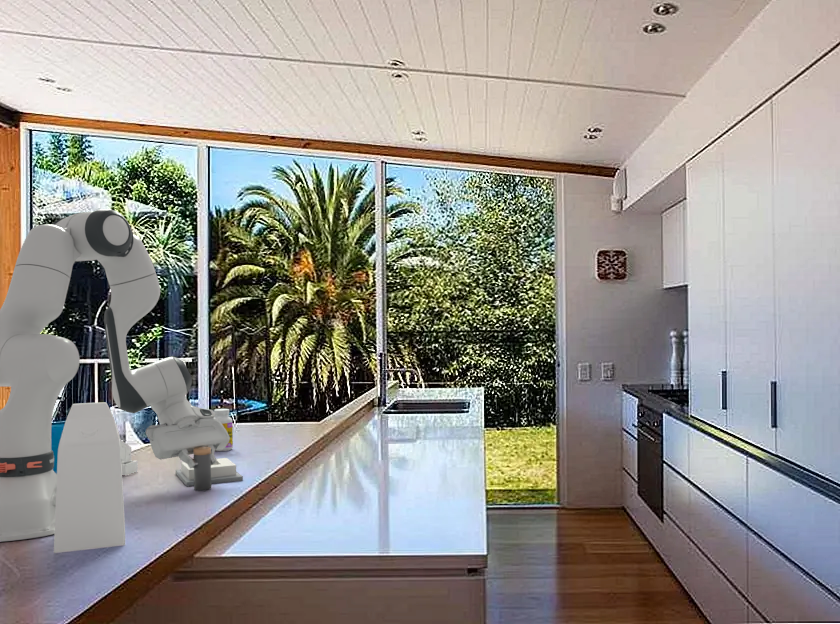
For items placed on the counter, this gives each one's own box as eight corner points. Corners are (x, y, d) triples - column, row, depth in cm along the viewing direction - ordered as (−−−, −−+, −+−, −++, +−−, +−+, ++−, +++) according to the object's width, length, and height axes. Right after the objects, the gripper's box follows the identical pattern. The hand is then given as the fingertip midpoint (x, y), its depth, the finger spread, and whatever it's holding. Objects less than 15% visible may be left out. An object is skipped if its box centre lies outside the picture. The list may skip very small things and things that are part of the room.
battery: (212, 489, 188) (212, 448, 188) (195, 491, 186) (195, 449, 186) (209, 486, 192) (209, 446, 192) (192, 488, 190) (192, 447, 190)
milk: (125, 529, 153) (123, 398, 154) (125, 545, 143) (123, 404, 143) (58, 536, 149) (56, 402, 149) (53, 553, 138) (51, 408, 139)
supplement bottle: (229, 451, 242) (229, 410, 242) (208, 451, 242) (208, 411, 242) (235, 448, 249) (234, 408, 249) (214, 448, 249) (214, 408, 249)
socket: (242, 480, 198) (242, 466, 199) (186, 486, 192) (186, 472, 192) (227, 468, 215) (227, 455, 215) (175, 473, 209) (175, 460, 209)
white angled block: (103, 469, 203) (112, 438, 207) (122, 481, 211) (131, 451, 216) (116, 470, 202) (125, 438, 206) (134, 482, 210) (143, 451, 215)
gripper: (147, 418, 186) (171, 463, 179) (218, 409, 201) (242, 450, 195) (137, 435, 188) (161, 480, 182) (208, 425, 204) (232, 466, 198)
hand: (203, 464), depth 189 cm, fingers closed on battery, 4 cm apart
